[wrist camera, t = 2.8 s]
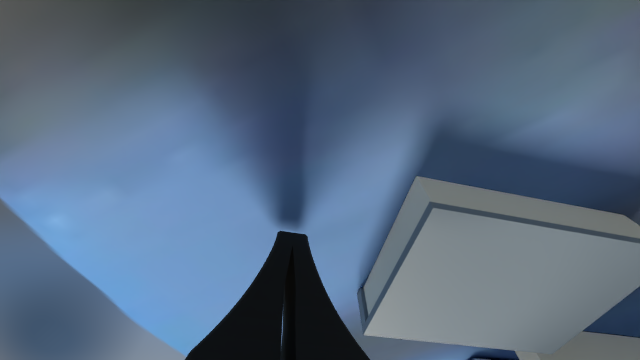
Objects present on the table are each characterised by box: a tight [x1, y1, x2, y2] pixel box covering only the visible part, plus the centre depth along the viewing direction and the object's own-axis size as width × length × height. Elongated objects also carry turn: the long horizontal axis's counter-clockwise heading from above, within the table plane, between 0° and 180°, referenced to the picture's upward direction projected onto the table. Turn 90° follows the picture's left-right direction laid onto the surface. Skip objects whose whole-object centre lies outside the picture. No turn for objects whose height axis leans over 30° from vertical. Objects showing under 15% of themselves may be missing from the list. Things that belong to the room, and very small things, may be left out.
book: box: [357, 176, 640, 354], centre depth 15 cm, size 9×12×3 cm
